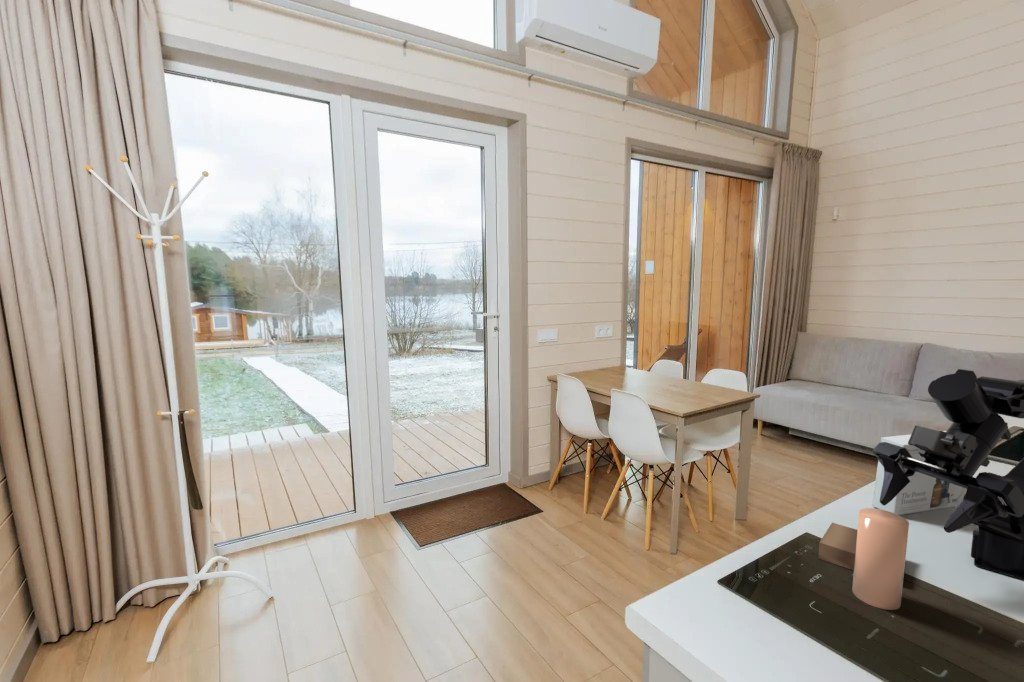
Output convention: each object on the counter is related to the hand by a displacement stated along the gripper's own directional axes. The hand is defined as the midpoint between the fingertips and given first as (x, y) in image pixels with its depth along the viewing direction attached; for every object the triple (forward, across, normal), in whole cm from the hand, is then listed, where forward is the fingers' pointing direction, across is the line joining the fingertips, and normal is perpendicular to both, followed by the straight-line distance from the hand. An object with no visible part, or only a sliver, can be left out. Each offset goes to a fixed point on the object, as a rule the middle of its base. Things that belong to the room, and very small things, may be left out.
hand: (911, 516), depth 75 cm
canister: (+13, 0, +4) cm, 14 cm away
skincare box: (-15, -20, +33) cm, 41 cm away
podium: (+8, -9, +10) cm, 15 cm away
